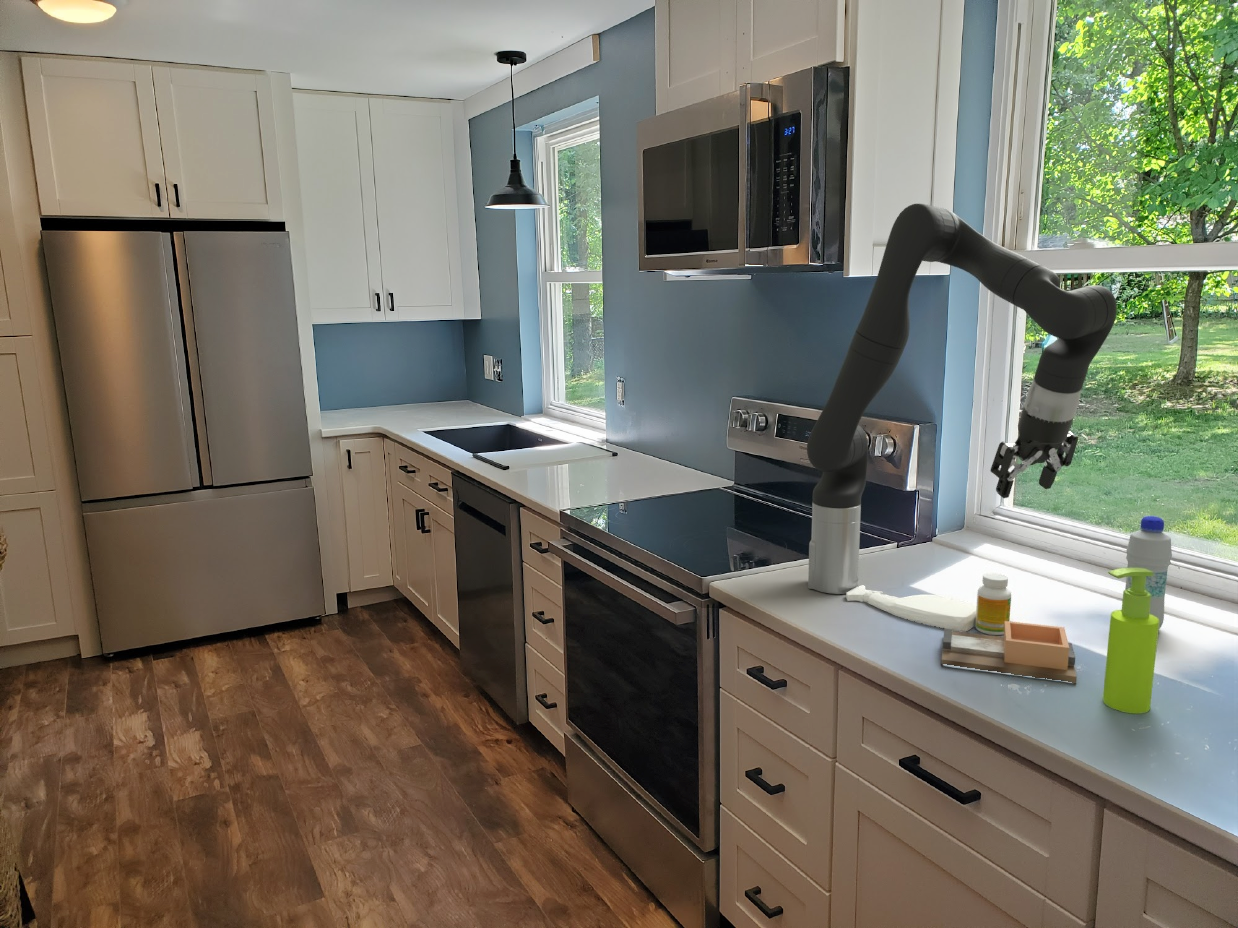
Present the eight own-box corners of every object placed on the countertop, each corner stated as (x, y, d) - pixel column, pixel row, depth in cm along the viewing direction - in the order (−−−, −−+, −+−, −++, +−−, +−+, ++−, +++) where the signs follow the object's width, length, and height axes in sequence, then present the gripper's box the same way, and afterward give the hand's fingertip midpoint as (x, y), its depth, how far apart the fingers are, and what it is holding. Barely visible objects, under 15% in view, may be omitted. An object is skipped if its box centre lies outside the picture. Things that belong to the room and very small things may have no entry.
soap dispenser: (1087, 696, 130) (1099, 564, 126) (1132, 693, 131) (1145, 562, 127) (1112, 715, 124) (1125, 577, 120) (1159, 712, 125) (1174, 575, 121)
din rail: (942, 650, 144) (943, 641, 144) (944, 637, 149) (944, 628, 149) (1074, 667, 137) (1075, 657, 137) (1071, 652, 142) (1071, 643, 142)
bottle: (1158, 623, 157) (1170, 513, 153) (1168, 637, 151) (1180, 522, 147) (1115, 619, 159) (1126, 510, 155) (1123, 633, 153) (1134, 520, 149)
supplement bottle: (1011, 636, 152) (1015, 582, 150) (978, 634, 153) (981, 580, 152) (1005, 625, 158) (1008, 572, 156) (972, 623, 159) (976, 570, 157)
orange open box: (1004, 662, 139) (1005, 640, 139) (1003, 641, 147) (1004, 620, 147) (1067, 669, 136) (1069, 647, 135) (1062, 648, 144) (1064, 627, 143)
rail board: (941, 666, 141) (941, 659, 141) (944, 636, 153) (944, 630, 153) (1076, 684, 134) (1076, 676, 134) (1068, 651, 146) (1069, 644, 146)
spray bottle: (963, 637, 154) (835, 606, 170) (988, 619, 161) (863, 592, 178) (964, 620, 153) (835, 591, 170) (989, 603, 161) (864, 577, 177)
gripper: (1069, 390, 148) (1042, 472, 157) (996, 403, 144) (973, 486, 153) (1103, 412, 142) (1073, 496, 151) (1028, 426, 138) (1002, 511, 147)
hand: (1023, 490), depth 152 cm, fingers open, 8 cm apart
